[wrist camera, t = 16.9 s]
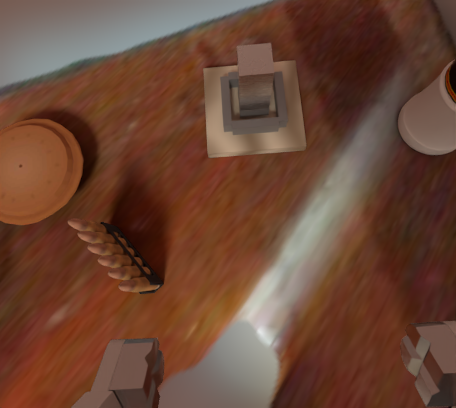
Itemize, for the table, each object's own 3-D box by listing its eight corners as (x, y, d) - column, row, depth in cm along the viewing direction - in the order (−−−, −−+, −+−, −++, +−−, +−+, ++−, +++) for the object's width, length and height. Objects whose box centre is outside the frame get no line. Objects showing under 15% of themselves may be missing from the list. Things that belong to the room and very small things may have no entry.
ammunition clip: (164, 283, 42) (132, 287, 30) (153, 293, 41) (118, 300, 30) (117, 226, 44) (70, 208, 32) (106, 235, 43) (56, 220, 32)
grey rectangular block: (265, 92, 45) (271, 42, 36) (268, 117, 45) (274, 73, 35) (238, 94, 46) (236, 45, 36) (240, 119, 45) (238, 76, 35)
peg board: (293, 66, 48) (297, 50, 44) (304, 150, 45) (309, 140, 41) (204, 74, 48) (201, 59, 45) (209, 157, 45) (206, 148, 42)
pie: (-28, 195, 46) (-60, 186, 41) (36, 113, 49) (13, 95, 44) (51, 248, 44) (27, 245, 39) (114, 159, 46) (99, 145, 41)
